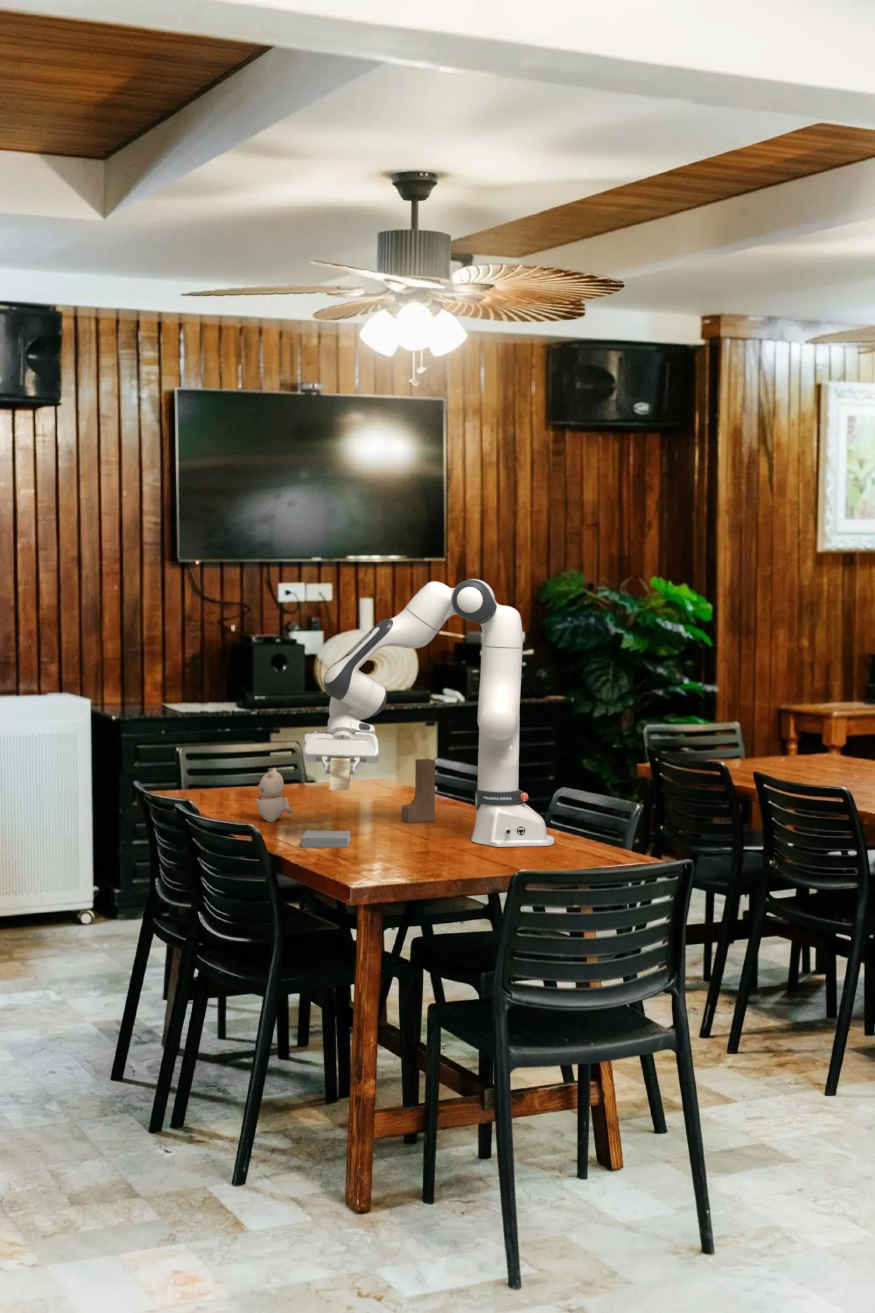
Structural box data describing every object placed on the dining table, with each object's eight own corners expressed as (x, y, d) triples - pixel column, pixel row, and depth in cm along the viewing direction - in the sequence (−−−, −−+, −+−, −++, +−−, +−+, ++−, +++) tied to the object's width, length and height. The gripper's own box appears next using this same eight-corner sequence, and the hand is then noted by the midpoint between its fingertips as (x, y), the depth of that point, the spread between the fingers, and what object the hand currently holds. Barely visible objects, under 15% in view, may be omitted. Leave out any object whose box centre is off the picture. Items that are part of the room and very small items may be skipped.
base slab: (350, 840, 416) (350, 831, 415) (347, 847, 404) (347, 838, 403) (305, 839, 416) (305, 830, 415) (301, 847, 404) (301, 838, 403)
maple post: (349, 787, 412) (350, 758, 411) (348, 790, 407) (349, 760, 406) (331, 787, 412) (331, 757, 411) (329, 789, 407) (330, 759, 406)
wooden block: (407, 823, 445) (408, 761, 445) (400, 821, 449) (401, 760, 449) (435, 821, 450) (435, 760, 449) (428, 819, 454) (428, 758, 453)
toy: (260, 816, 456) (260, 766, 455) (295, 817, 455) (295, 766, 455) (253, 822, 444) (253, 771, 443) (289, 823, 443) (290, 771, 442)
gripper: (304, 724, 415) (300, 764, 406) (380, 726, 415) (377, 766, 406) (305, 738, 420) (301, 778, 411) (380, 740, 420) (377, 781, 411)
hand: (340, 772), depth 408 cm, fingers closed on maple post, 5 cm apart
